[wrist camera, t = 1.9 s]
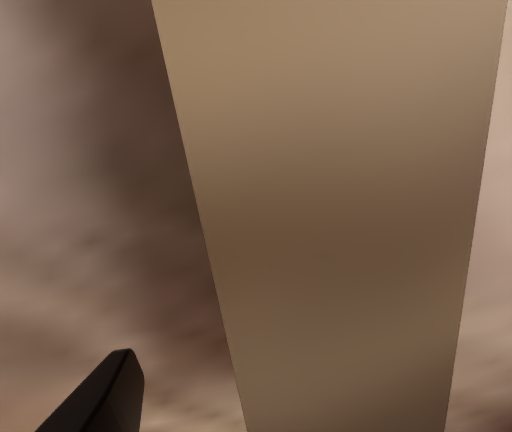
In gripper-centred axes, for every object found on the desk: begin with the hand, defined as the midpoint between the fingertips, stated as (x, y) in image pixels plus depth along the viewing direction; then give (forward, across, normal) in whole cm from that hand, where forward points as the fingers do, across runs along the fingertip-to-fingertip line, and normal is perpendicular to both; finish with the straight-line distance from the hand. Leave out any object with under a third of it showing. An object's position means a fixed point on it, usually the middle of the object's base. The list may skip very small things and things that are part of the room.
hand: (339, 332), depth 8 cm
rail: (+3, 0, -3) cm, 4 cm away
